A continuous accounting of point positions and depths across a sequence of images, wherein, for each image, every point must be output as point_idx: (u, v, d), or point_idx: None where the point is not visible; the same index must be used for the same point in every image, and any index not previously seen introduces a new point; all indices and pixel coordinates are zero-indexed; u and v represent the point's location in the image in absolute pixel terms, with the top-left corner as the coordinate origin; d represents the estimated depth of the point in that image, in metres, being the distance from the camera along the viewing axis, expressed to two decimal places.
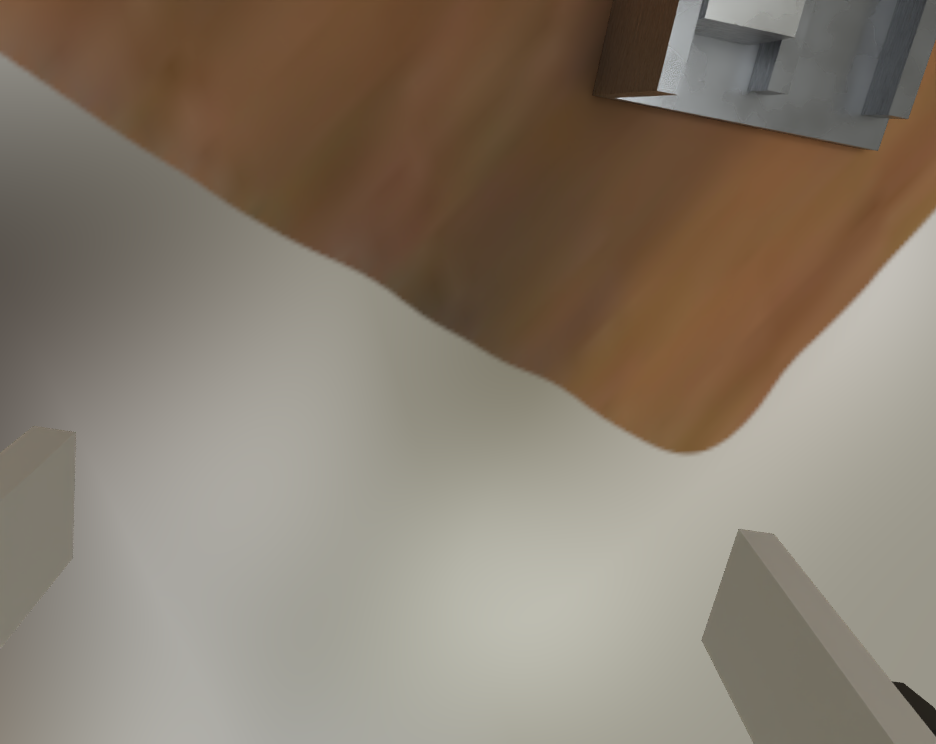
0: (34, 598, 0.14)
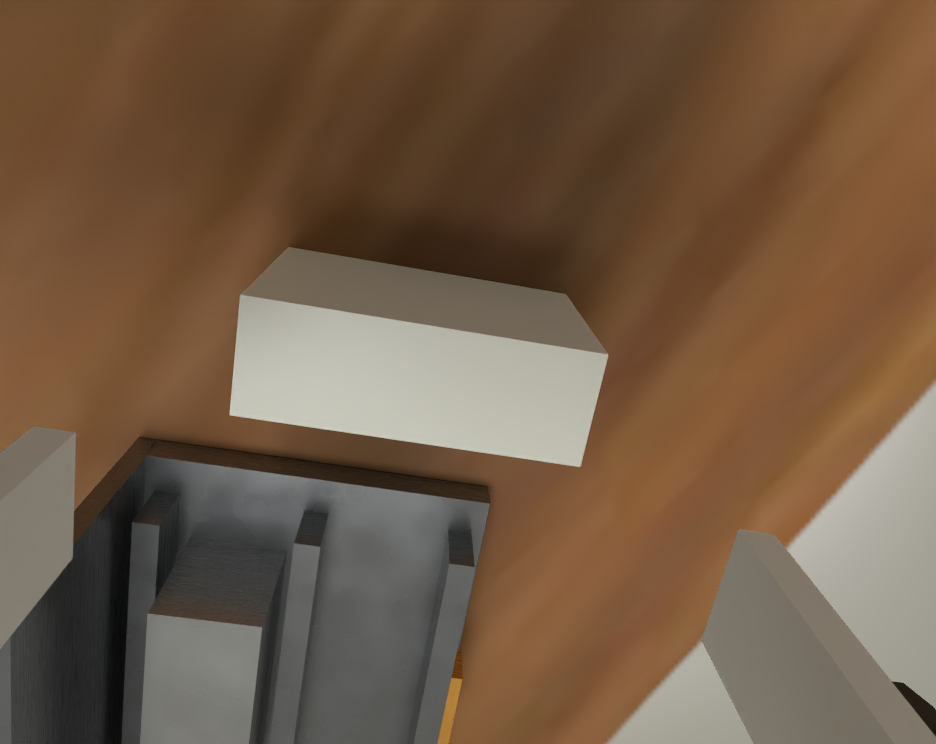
0: (34, 598, 0.14)
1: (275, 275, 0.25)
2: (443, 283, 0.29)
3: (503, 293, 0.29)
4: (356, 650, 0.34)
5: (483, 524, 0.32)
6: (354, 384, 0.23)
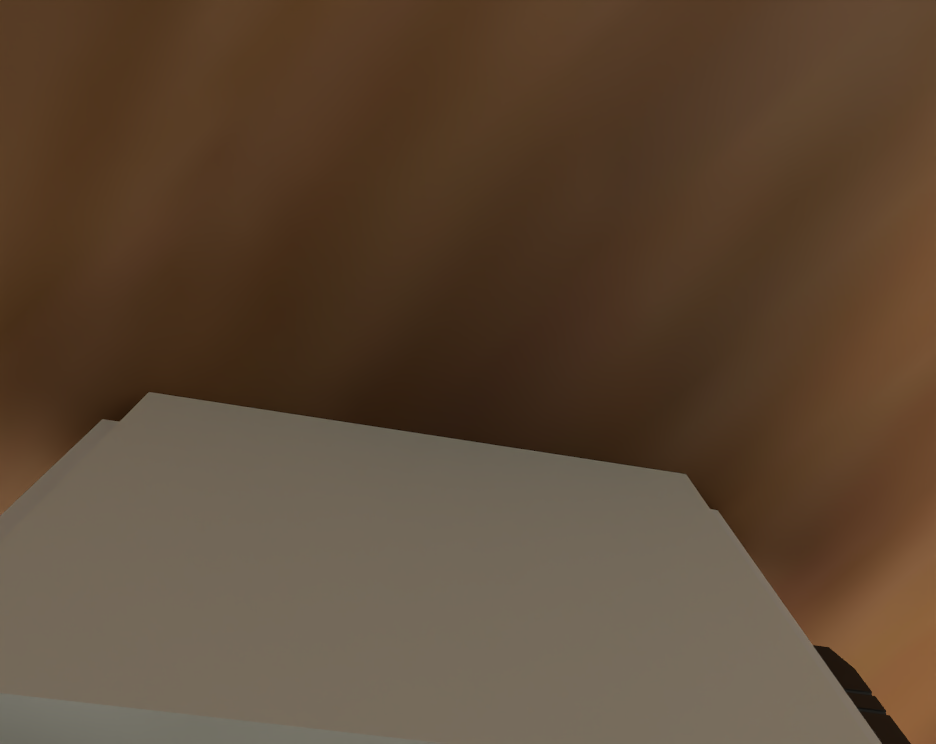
0: None
1: (53, 526, 0.10)
2: (455, 483, 0.14)
3: (577, 499, 0.14)
4: None
5: None
6: None
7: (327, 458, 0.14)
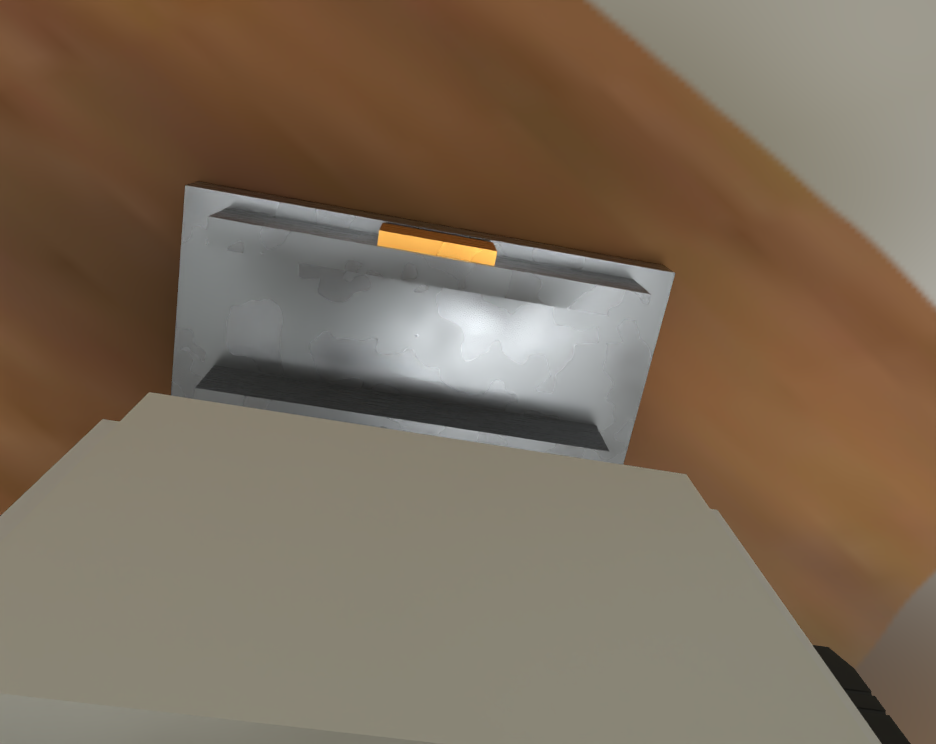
0: None
1: (53, 527, 0.10)
2: (455, 483, 0.14)
3: (577, 499, 0.14)
4: (393, 342, 0.29)
5: (214, 192, 0.27)
6: None
7: (327, 458, 0.14)
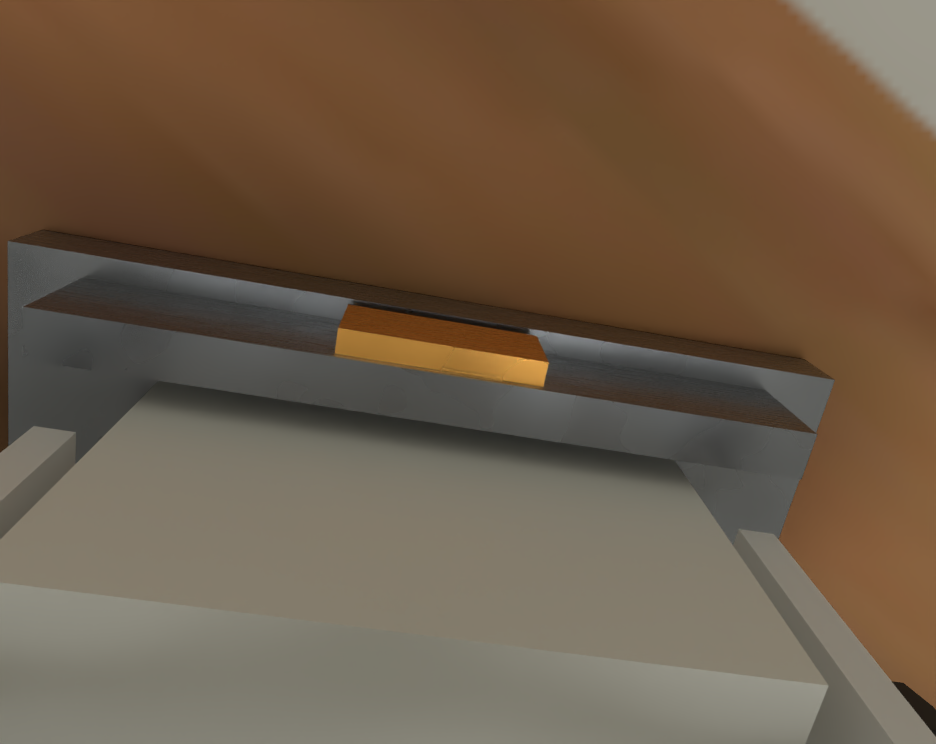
0: None
1: (101, 471, 0.12)
2: (450, 443, 0.15)
3: (560, 459, 0.16)
4: None
5: (59, 253, 0.16)
6: None
7: (336, 421, 0.15)
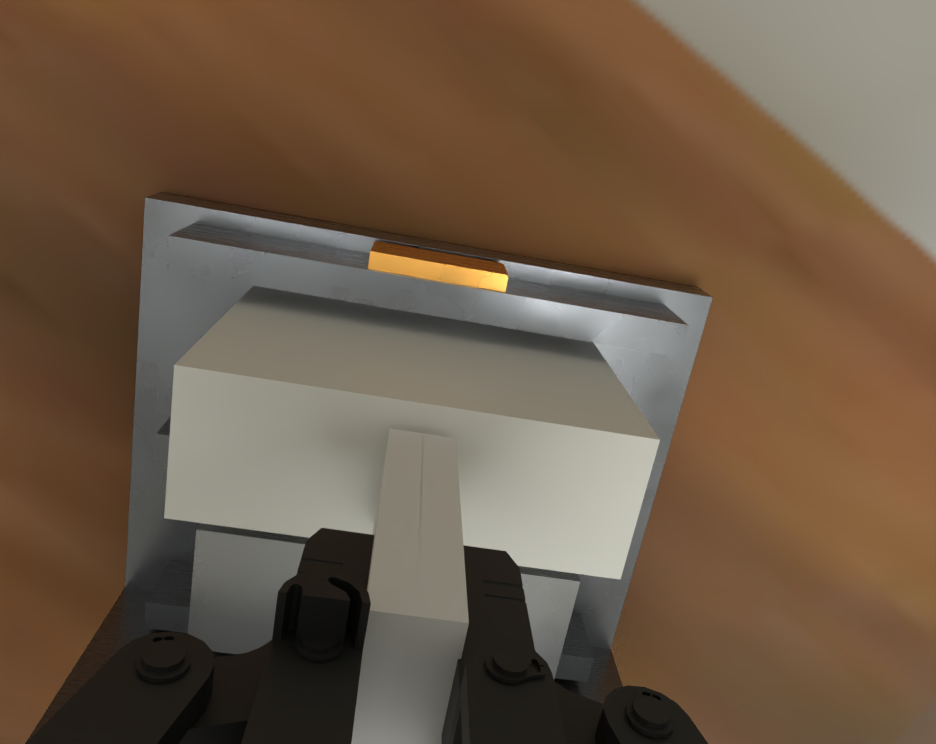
0: None
1: (229, 330, 0.20)
2: (443, 332, 0.23)
3: (518, 344, 0.23)
4: None
5: (179, 206, 0.23)
6: (326, 479, 0.18)
7: (367, 318, 0.23)
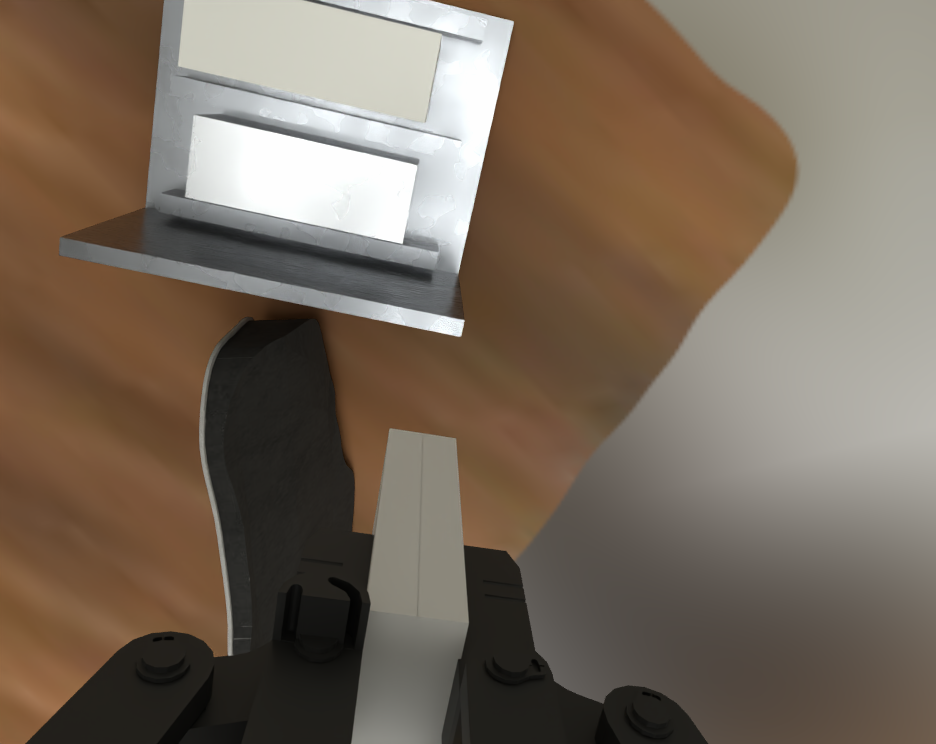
0: None
1: None
2: None
3: None
4: None
5: None
6: (264, 47, 0.34)
7: None
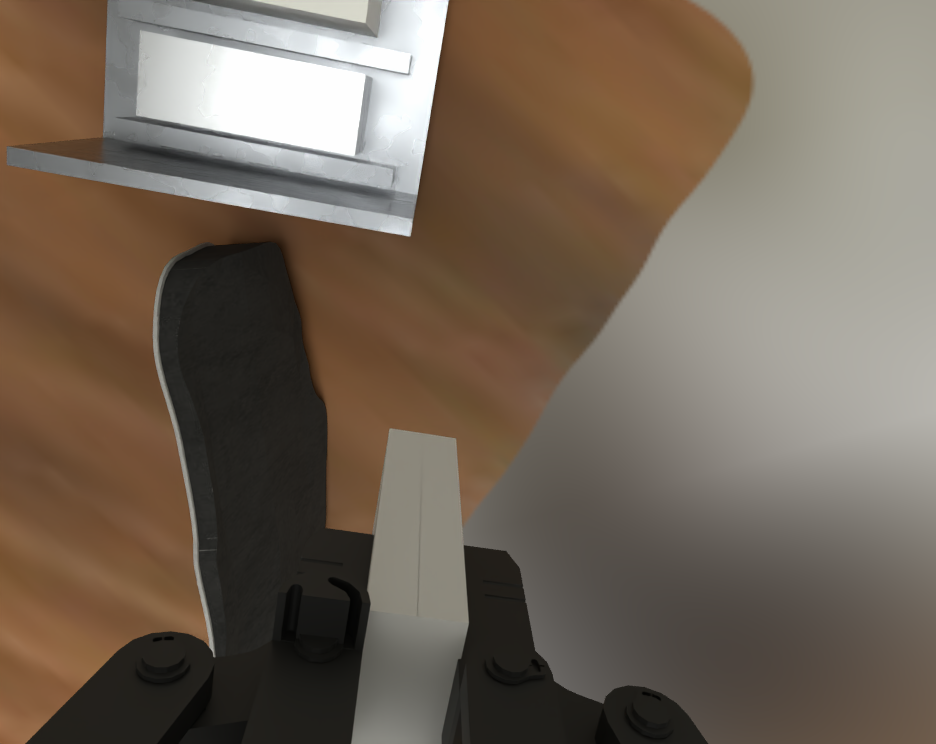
0: None
1: None
2: None
3: None
4: None
5: None
6: None
7: None
